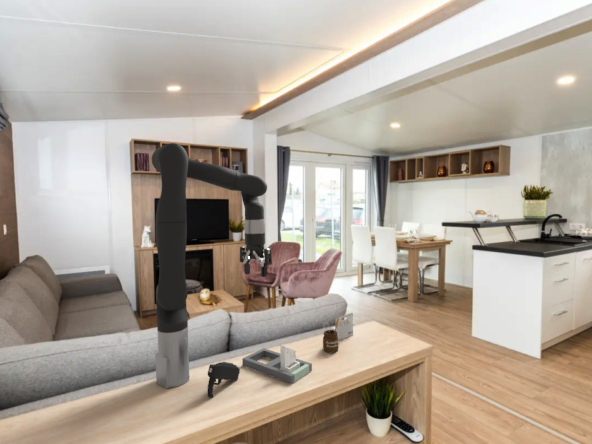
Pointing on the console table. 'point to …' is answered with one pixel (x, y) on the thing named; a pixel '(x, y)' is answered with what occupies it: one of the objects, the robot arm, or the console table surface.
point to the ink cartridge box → (344, 326)
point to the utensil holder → (330, 339)
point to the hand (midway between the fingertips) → (255, 275)
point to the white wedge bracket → (288, 359)
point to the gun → (221, 374)
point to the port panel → (275, 366)
